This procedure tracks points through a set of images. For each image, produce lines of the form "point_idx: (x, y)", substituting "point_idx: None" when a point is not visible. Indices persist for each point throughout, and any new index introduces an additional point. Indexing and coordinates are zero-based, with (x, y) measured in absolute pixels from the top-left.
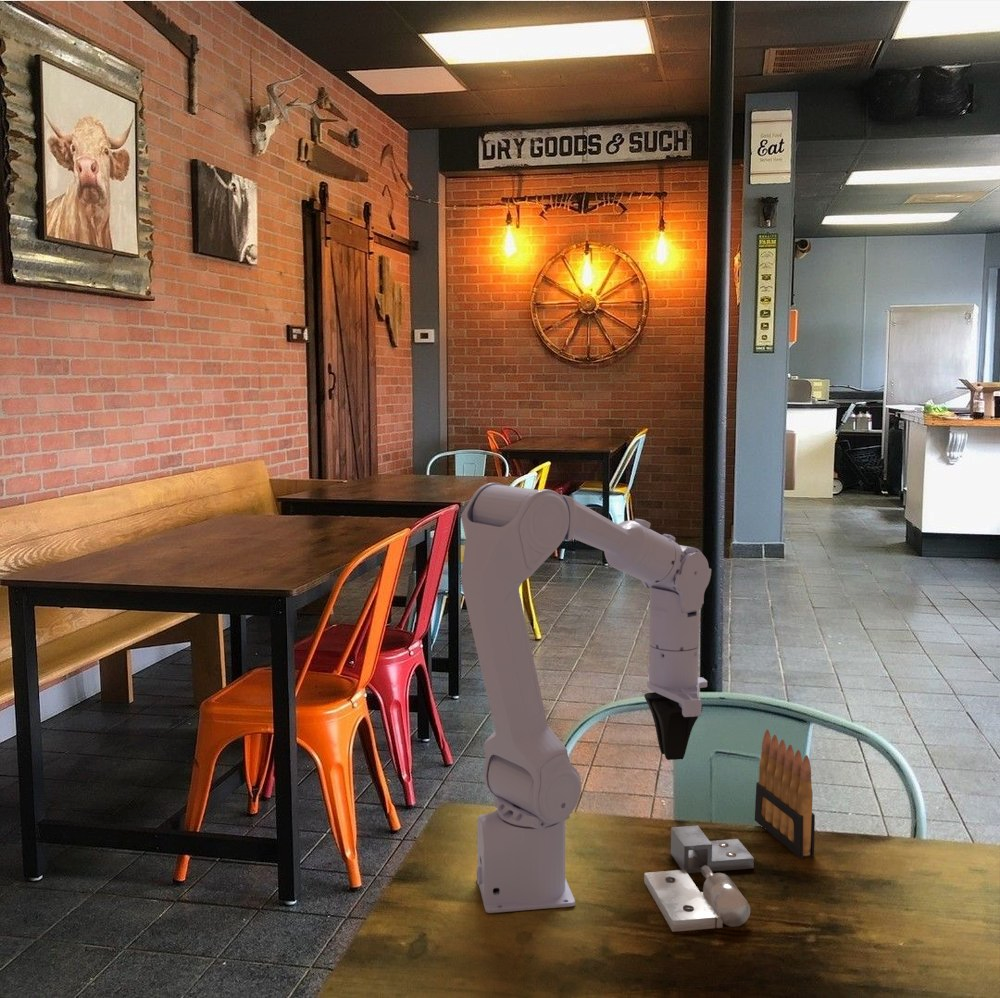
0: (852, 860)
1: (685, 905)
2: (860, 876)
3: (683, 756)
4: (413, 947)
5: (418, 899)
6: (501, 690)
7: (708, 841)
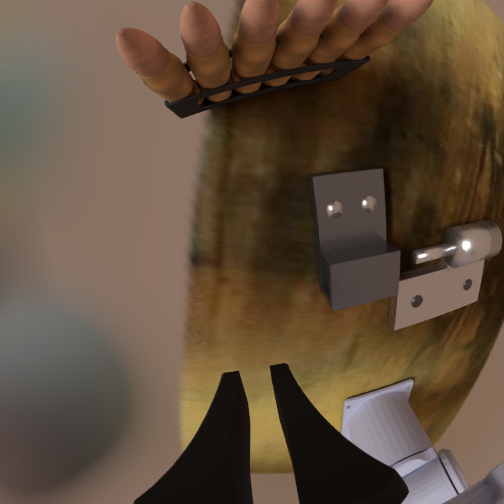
0: None
1: (464, 287)
2: None
3: (288, 367)
4: None
5: None
6: None
7: (391, 255)
